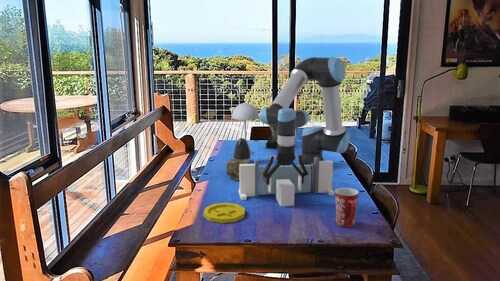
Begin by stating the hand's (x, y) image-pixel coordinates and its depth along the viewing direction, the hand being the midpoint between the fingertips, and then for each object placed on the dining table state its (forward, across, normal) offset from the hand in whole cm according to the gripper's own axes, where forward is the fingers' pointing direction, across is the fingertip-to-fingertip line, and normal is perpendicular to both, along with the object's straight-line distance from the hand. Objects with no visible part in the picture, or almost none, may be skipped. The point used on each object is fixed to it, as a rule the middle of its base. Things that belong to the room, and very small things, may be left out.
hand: (284, 191), depth 184 cm
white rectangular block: (+5, 0, 0) cm, 5 cm away
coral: (+4, -16, -105) cm, 107 cm away
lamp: (+5, +6, -86) cm, 87 cm away
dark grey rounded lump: (+5, +11, -64) cm, 65 cm away
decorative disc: (+6, +28, +10) cm, 30 cm away
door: (+5, -3, -9) cm, 11 cm away
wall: (+5, -3, -10) cm, 12 cm away
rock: (+5, +16, -40) cm, 43 cm away
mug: (+6, -18, +28) cm, 34 cm away
